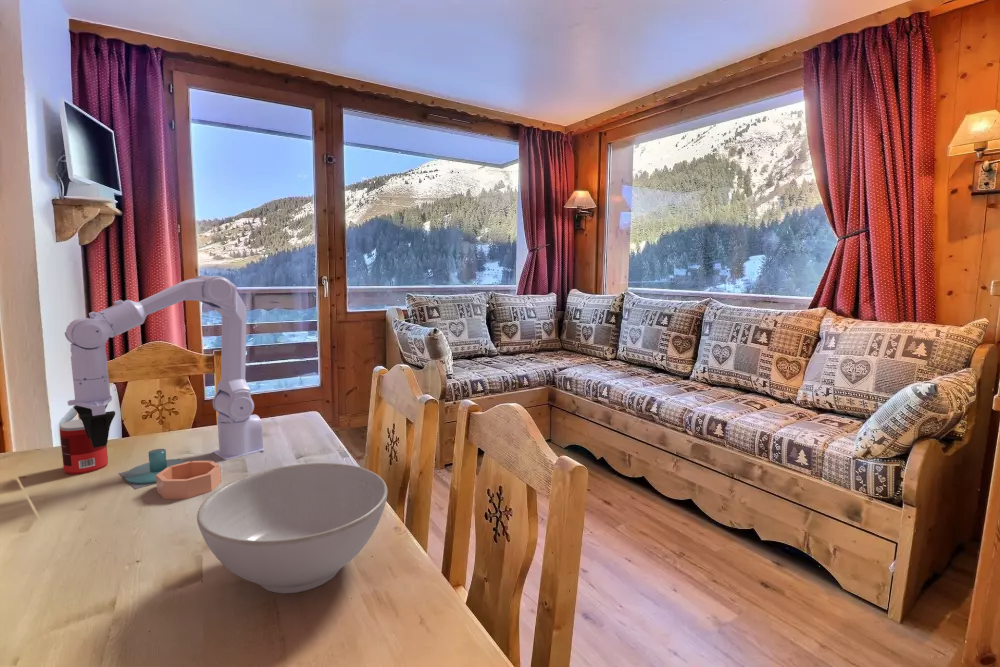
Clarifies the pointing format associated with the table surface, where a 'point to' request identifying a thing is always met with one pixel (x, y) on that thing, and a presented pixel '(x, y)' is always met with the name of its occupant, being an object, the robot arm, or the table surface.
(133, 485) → the mat
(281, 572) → the decorative bowl
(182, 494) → the ramekin
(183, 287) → the robot arm
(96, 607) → the table surface
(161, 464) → the lid
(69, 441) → the canned food
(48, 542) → the table surface
